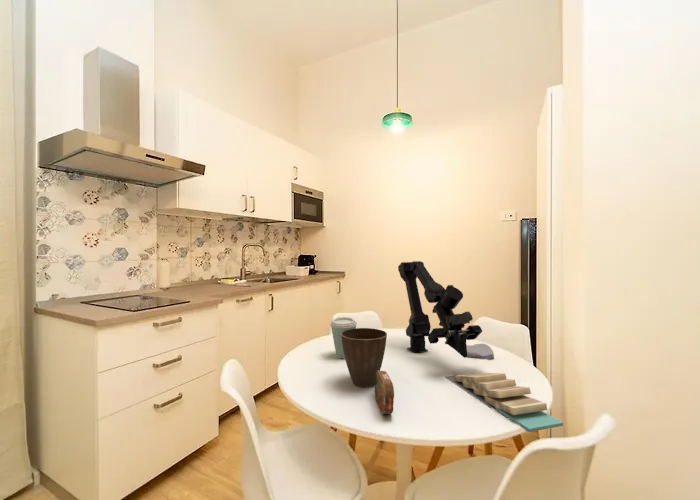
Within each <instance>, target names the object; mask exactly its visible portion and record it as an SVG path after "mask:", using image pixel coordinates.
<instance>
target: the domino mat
mask: <svg viewBox="0 0 700 500" xmlns="http://www.w3.org/2000/svg"><path fill="white" fill-rule="evenodd" d="M473 373H474V372H469V373H467V374H473ZM465 374H466V373H462V374H460V375H465ZM457 375H458V374H455V375H447V376H444V378H445V379H446V380H448V381H449V382H450V383H452V384H454V385H456V386H457V387H458V388H460V389H461V390H462V391H464V392H465V393H467V394H469V396H470V395H471V396H472V397H474V398H475V400H478V401H479V402H480V403H482V404H483V405H485V406H487V407H488V408H489V409H494V408H495V409H496V407H495V406H493V405H491V404H488V403H486V402H485V399H484V396H481V395H475V394H474V390H473V388H464V387H463V382H457V381H454V376H457Z"/></svg>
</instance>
